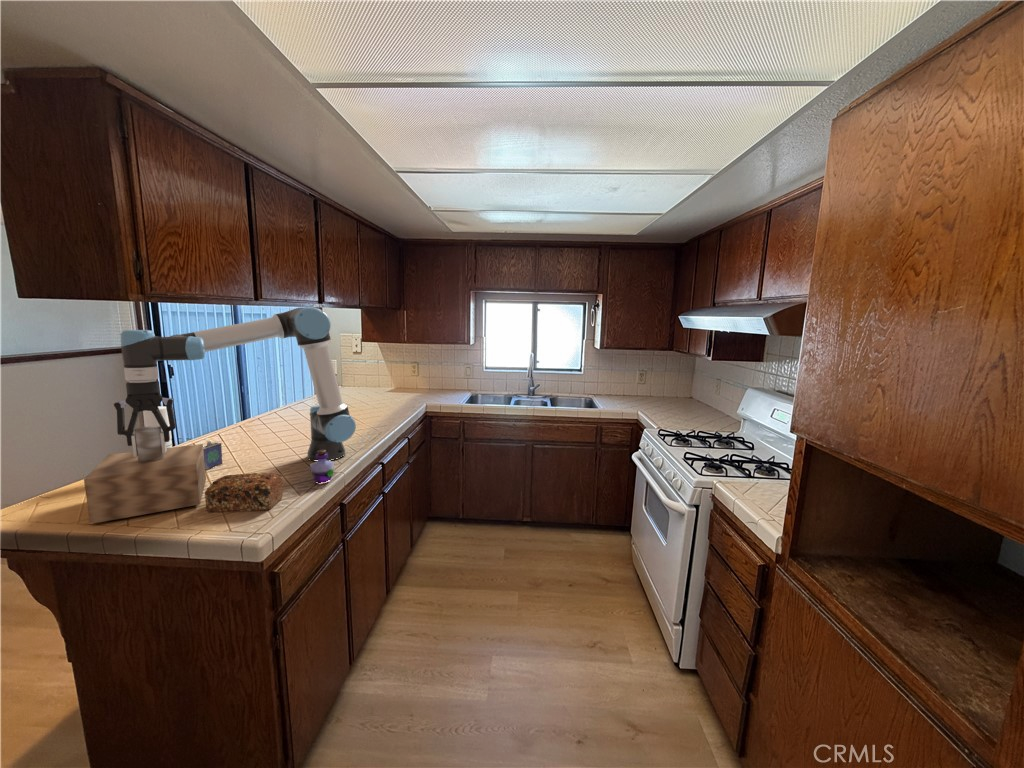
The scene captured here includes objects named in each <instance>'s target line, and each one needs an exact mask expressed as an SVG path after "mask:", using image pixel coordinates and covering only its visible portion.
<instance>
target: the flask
mask: <svg viewBox="0 0 1024 768" xmlns="http://www.w3.org/2000/svg"><path fill="white" fill-rule="evenodd" d="M222 449H223V448H222V442H212V441H210V440H207V441H206V445H203V450H204V462H205V471H209V470H211V468H212V469H214V468H215V466H217V467H219V466H221V464H222V465H223V453H222V452H223V451H222ZM218 465H219V466H218ZM213 467H214V468H213ZM208 469H209V470H208Z"/></svg>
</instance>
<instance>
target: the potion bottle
mask: <svg viewBox="0 0 1024 768" xmlns="http://www.w3.org/2000/svg"><path fill="white" fill-rule="evenodd" d="M326 458H328V453H326V450H319V451H317V454H316V459H318V461H316V462H315V461H313V462H311V463H310V464H309V465H310V466H309V468H310V472H311V476H313V479H314V483H315V482H318V483H321V482H326V481H328V480H331V478H332V475H333V474H334V467H335V460H333V461H329V460H326ZM331 481H332V480H331Z"/></svg>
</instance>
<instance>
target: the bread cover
mask: <svg viewBox="0 0 1024 768" xmlns="http://www.w3.org/2000/svg"><path fill="white" fill-rule="evenodd" d="M160 433H161V427H160V426H148V427H145V426H142V427H138V428H134V434H135V437H136V446H137V455H138V456H136V457H134V455H133V451H130V452H129V451H128V452H121V453H113V454H111V453H110V454H108V455H107V456H106V457H105V458H104V459H103V460H102V461H101V462H99V464H98V465H96V466H95V468H94V469H93V470H92V471H91V472H90V473H89V474H88V475H87V476H86V477H85V478H84V479H83V483H84V490H85V498H86V504H87V505H86V506H87V513H88V520H89V524H90V525H92V524H97V523H103V522H109V521H115V520H121V519H126V518H131V517H137V516H142V515H147V514H154V513H159V512H164V511H165V512H166V511H169V510H170V511H171V510H175V509H181V508H186V507H187V508H188V507H192V506H198V505H201V500H202V499H203V498H202V497H203V493H204V489H205V485H206V480H207V475H206V473H207V472H206V470H205V462H204V450H203V447H204V444H203V443H202V444H201V443H200V444H191V445H181V446H174V447H173V446H172V448H167V451H166V453H162V446H161V437H160Z"/></svg>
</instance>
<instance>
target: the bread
mask: <svg viewBox="0 0 1024 768" xmlns="http://www.w3.org/2000/svg"><path fill="white" fill-rule="evenodd" d="M283 492H284V480H283V478H282V475H281V474H280V473H278V472H277V473H276V472H266V471H265V472H253V473H241V474H238V473H237V474H228V475H223V476H221V477H218V478H217V479H216V480H214V481H212V482H211V484H210V485H209V486H208V487H207V488H206V490H205V491H204V499H205V508H206V509H207V512H208V513H230V512H232V513H233V512H246V511H248V512H258V511H264V510H266V511H268V510H271V509H273V508H274V507H276V505H277V504H278V503H280V502H281V500H282V498H283V495H284V493H283Z"/></svg>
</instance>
